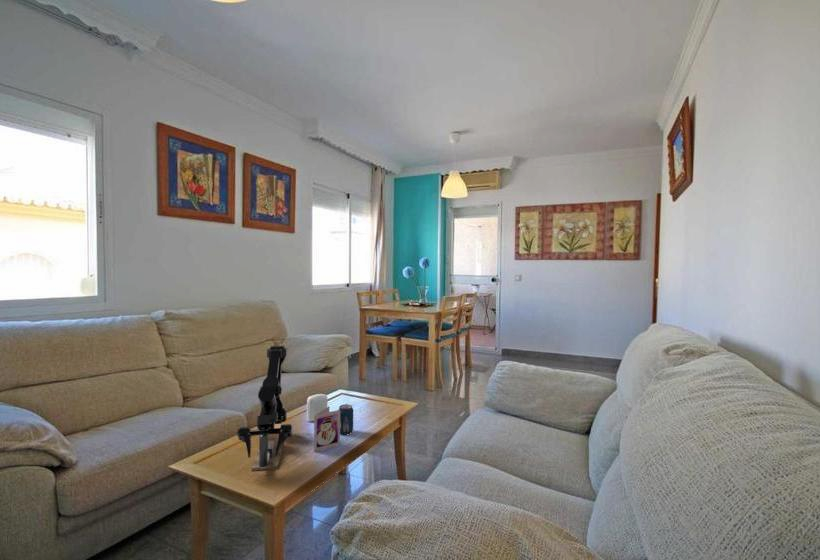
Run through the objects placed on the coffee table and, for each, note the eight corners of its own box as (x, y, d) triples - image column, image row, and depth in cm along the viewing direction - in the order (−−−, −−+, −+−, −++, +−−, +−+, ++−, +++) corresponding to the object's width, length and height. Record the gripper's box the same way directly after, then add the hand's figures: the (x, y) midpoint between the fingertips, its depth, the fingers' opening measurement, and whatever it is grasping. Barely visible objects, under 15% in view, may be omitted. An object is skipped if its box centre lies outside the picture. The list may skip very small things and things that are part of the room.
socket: (261, 443, 157) (262, 424, 157) (282, 442, 159) (282, 423, 159) (260, 448, 153) (260, 429, 153) (280, 447, 154) (281, 427, 154)
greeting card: (314, 452, 152) (315, 415, 152) (307, 445, 158) (308, 410, 158) (340, 445, 159) (341, 410, 159) (333, 439, 165) (333, 405, 165)
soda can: (347, 428, 177) (347, 402, 177) (356, 432, 172) (356, 406, 172) (334, 432, 172) (335, 406, 172) (343, 437, 167) (344, 410, 167)
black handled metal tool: (265, 449, 150) (266, 419, 150) (273, 449, 151) (273, 418, 151) (258, 470, 134) (258, 437, 134) (266, 470, 135) (267, 436, 135)
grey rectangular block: (264, 449, 152) (264, 439, 152) (275, 448, 153) (275, 438, 153) (261, 459, 144) (261, 448, 144) (272, 458, 145) (273, 447, 145)
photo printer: (325, 415, 192) (325, 391, 191) (328, 418, 188) (328, 394, 188) (305, 420, 186) (305, 395, 186) (308, 423, 182) (308, 397, 182)
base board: (260, 445, 157) (260, 443, 157) (283, 444, 159) (283, 441, 159) (251, 470, 138) (251, 467, 138) (277, 468, 140) (277, 465, 140)
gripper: (238, 405, 137) (230, 449, 127) (292, 402, 141) (288, 445, 131) (243, 418, 145) (236, 461, 135) (293, 415, 149) (290, 456, 139)
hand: (262, 456), depth 134 cm, fingers open, 9 cm apart
